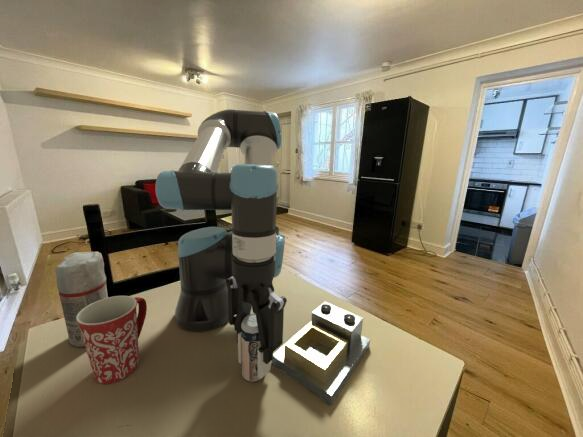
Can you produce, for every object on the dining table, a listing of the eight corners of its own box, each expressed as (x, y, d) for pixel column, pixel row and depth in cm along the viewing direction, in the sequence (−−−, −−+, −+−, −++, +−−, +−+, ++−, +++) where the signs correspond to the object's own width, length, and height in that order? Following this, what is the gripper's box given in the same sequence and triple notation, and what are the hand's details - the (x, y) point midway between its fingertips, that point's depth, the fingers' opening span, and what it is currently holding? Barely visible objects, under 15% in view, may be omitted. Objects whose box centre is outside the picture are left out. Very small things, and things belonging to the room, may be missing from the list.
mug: (115, 394, 43) (105, 328, 40) (75, 383, 45) (62, 318, 42) (166, 344, 55) (161, 290, 52) (132, 336, 57) (126, 284, 54)
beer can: (255, 388, 45) (255, 332, 43) (236, 375, 48) (235, 321, 45) (271, 370, 49) (271, 317, 47) (252, 359, 52) (252, 309, 49)
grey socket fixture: (271, 363, 51) (272, 330, 49) (317, 321, 65) (319, 295, 63) (330, 405, 43) (334, 367, 41) (369, 347, 57) (373, 317, 55)
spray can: (118, 336, 57) (106, 255, 52) (71, 355, 51) (53, 266, 47) (109, 319, 63) (98, 245, 58) (66, 335, 57) (50, 254, 52)
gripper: (205, 247, 45) (210, 354, 51) (278, 278, 35) (274, 408, 40) (237, 238, 51) (239, 335, 56) (308, 262, 40) (301, 378, 46)
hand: (254, 365), depth 48 cm, fingers closed on beer can, 5 cm apart
